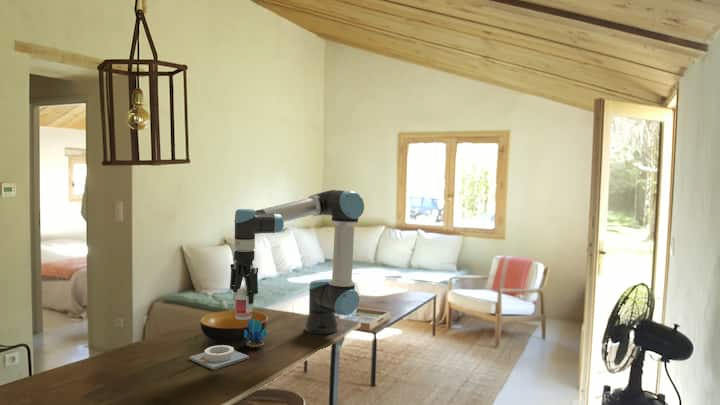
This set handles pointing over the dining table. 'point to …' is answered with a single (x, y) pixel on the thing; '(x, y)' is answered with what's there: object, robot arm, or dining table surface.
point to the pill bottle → (241, 305)
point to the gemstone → (255, 333)
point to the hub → (218, 357)
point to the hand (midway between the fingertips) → (243, 310)
